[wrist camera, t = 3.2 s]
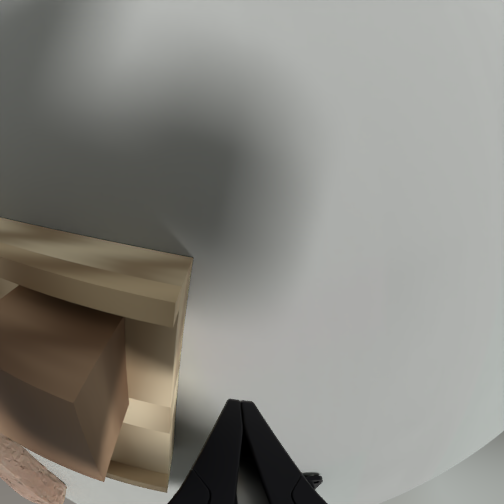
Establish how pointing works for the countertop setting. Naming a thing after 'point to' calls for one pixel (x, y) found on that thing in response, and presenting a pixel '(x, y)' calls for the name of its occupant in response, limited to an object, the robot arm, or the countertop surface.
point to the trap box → (136, 326)
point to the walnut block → (62, 379)
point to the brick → (28, 474)
